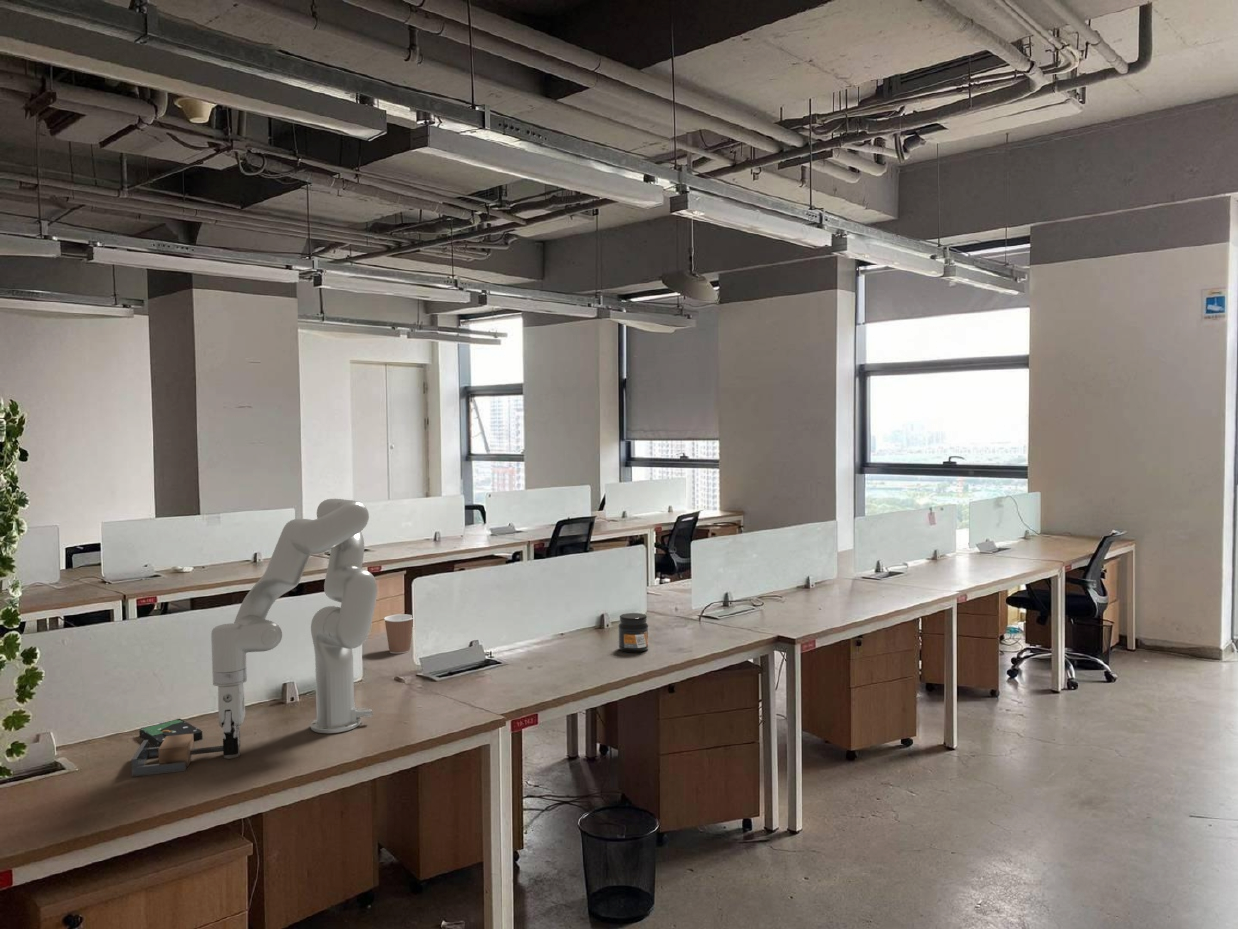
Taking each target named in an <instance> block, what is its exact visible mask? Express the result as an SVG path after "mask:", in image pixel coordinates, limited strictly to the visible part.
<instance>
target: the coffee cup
mask: <svg viewBox="0 0 1238 929" xmlns="http://www.w3.org/2000/svg"><path fill="white" fill-rule="evenodd" d="M383 620H384V624H385V632H386V638H387V644H388V649H389V650H388V651H389V653H390V654H395V655H396V654H397V655H400V654H406V653H409V652H410V651H411V647H412V637H413V636H412V635H413V627H414V626H413V625H414V618H412V614H403V613H399V614H392V615H387V616H385V617H384V618H383ZM412 626H413V627H412Z"/></svg>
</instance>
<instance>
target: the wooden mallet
mask: <svg viewBox="0 0 1238 929" xmlns="http://www.w3.org/2000/svg"><path fill="white" fill-rule="evenodd" d="M231 730H232V729H231ZM239 731H240V728H239V729H236V737H238V754H235V755H226V756H224V755H223V758H224V759H228V760H229V759H235V758H238V757H241V756H240V755H241V734H240V735H239ZM158 752H159V756H158V764H161V763H169V762H178V761H186V768H188V767H189V765H190V763H191V761H192V759H193V757H194V756H195V755H203V754H210V753H211V754H212V753H220V752H221V753H223V745H217V746H209V747H207V746H206V747H200V748H199V747H198V748H195V741H194V736H193V734H183V735H174V736H166V737H165V739H164V741H163V742H162V744H161V746H160V747H159V749H158Z"/></svg>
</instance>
